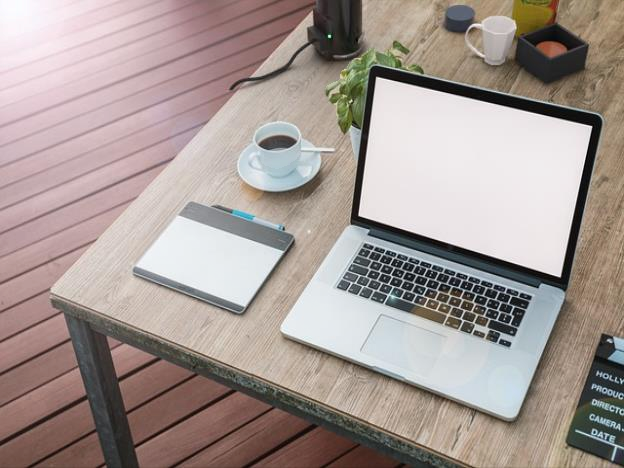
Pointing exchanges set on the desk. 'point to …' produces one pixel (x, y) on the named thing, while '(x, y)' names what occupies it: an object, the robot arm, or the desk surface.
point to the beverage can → (533, 14)
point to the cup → (495, 38)
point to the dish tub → (553, 66)
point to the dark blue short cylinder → (459, 18)
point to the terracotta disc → (551, 48)
